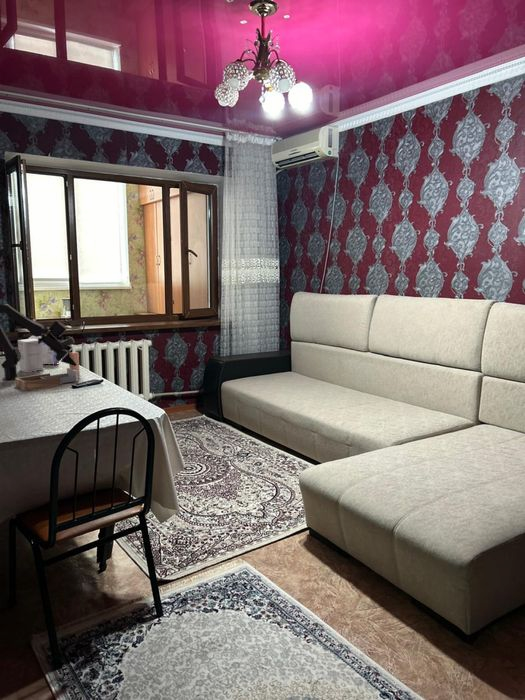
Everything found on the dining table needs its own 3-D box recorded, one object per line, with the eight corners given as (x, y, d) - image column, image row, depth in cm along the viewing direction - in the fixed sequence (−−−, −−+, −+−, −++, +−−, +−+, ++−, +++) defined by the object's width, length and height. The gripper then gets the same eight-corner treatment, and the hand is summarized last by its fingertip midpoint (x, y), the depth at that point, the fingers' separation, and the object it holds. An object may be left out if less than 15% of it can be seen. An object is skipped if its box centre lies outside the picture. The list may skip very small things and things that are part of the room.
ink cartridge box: (59, 363, 317) (58, 339, 314) (54, 365, 311) (52, 340, 309) (44, 363, 319) (42, 338, 316) (38, 364, 313) (37, 339, 311)
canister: (68, 376, 283) (67, 352, 281) (77, 375, 287) (75, 351, 285) (72, 377, 280) (71, 353, 278) (81, 376, 283) (80, 352, 281)
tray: (39, 382, 268) (39, 372, 267) (69, 377, 278) (68, 368, 277) (48, 385, 261) (47, 375, 260) (78, 380, 271) (77, 370, 270)
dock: (15, 386, 261) (14, 378, 260) (49, 381, 272) (49, 373, 272) (25, 390, 252) (25, 382, 252) (60, 385, 264) (60, 377, 263)
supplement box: (36, 367, 305) (34, 338, 302) (44, 370, 299) (42, 339, 296) (19, 370, 298) (17, 339, 295) (26, 372, 292) (24, 341, 289)
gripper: (61, 334, 270) (85, 355, 274) (67, 329, 288) (89, 349, 292) (45, 350, 269) (70, 371, 273) (52, 344, 287) (75, 364, 291)
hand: (77, 363), depth 282 cm, fingers open, 7 cm apart
